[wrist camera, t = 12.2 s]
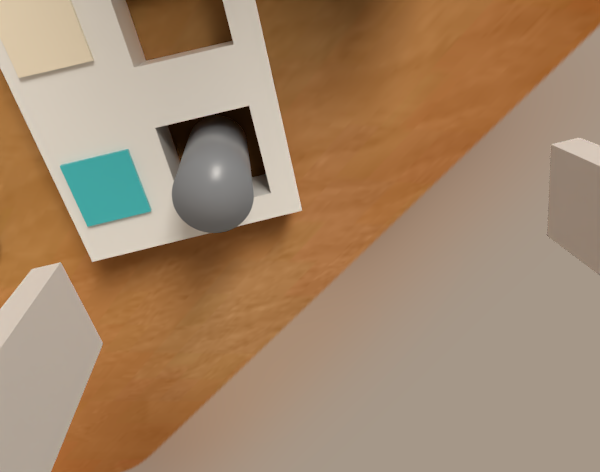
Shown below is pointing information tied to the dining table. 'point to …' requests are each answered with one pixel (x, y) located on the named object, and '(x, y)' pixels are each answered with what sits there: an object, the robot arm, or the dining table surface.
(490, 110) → the dining table surface
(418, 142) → the dining table surface
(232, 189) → the plug
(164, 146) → the socket block
